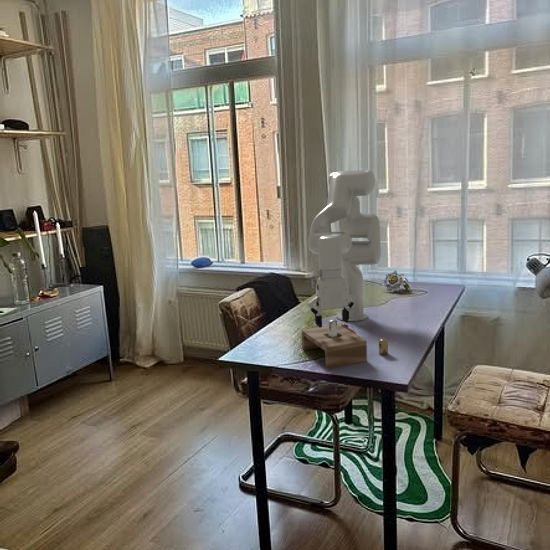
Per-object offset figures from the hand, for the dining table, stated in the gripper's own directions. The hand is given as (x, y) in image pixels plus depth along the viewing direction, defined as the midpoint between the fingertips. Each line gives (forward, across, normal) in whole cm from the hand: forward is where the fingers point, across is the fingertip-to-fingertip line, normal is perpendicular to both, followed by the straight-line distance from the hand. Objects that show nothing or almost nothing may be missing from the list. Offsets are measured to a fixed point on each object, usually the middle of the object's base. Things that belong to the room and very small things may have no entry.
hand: (332, 324), depth 175 cm
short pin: (+11, +15, -7) cm, 20 cm away
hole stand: (+11, 0, 0) cm, 11 cm away
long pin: (+11, 0, 0) cm, 11 cm away
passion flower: (+11, +65, +63) cm, 91 cm away
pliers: (+12, +14, +19) cm, 26 cm away
